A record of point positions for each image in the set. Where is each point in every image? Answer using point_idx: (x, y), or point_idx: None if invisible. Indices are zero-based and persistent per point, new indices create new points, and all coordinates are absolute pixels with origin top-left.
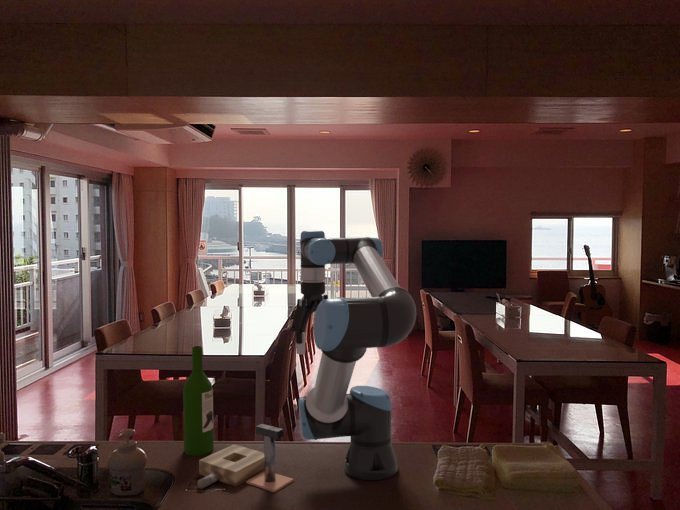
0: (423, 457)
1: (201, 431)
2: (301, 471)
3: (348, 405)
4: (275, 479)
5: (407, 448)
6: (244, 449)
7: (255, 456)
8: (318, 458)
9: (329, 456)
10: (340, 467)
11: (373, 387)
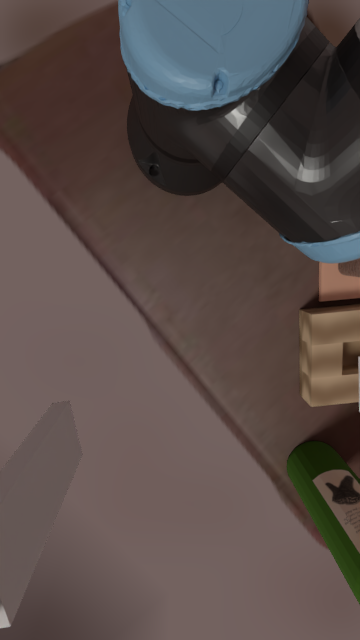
0: (53, 64)
1: (351, 473)
2: (277, 249)
3: (331, 44)
4: None
5: (35, 130)
6: (320, 371)
7: (335, 329)
8: (209, 264)
9: (187, 252)
10: (217, 197)
11: (150, 14)
